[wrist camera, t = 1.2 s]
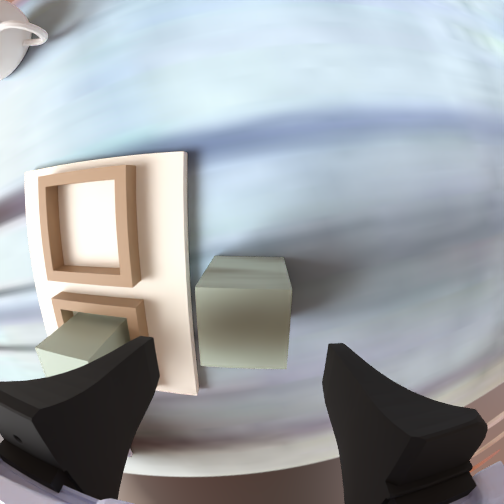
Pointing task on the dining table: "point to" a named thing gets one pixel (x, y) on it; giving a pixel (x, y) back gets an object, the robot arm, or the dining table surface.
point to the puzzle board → (113, 262)
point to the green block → (244, 312)
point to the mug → (15, 37)
